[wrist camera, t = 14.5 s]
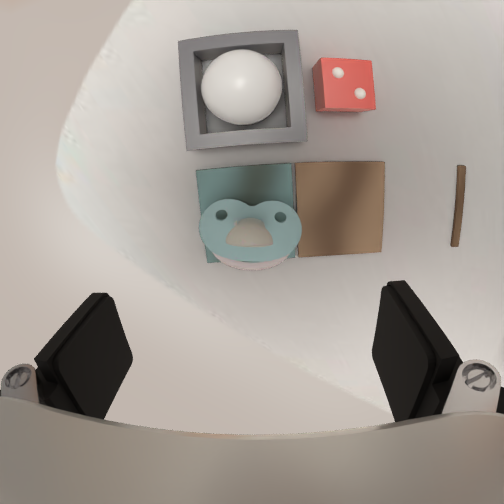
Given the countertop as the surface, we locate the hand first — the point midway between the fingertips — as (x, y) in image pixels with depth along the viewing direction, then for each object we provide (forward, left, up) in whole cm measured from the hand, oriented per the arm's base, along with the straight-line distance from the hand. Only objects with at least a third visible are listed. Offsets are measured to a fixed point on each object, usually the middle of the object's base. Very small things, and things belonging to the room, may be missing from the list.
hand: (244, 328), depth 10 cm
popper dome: (0, -9, -15) cm, 18 cm away
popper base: (-2, -9, -15) cm, 18 cm away
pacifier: (0, +2, -15) cm, 15 cm away
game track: (-7, 0, -15) cm, 17 cm away
